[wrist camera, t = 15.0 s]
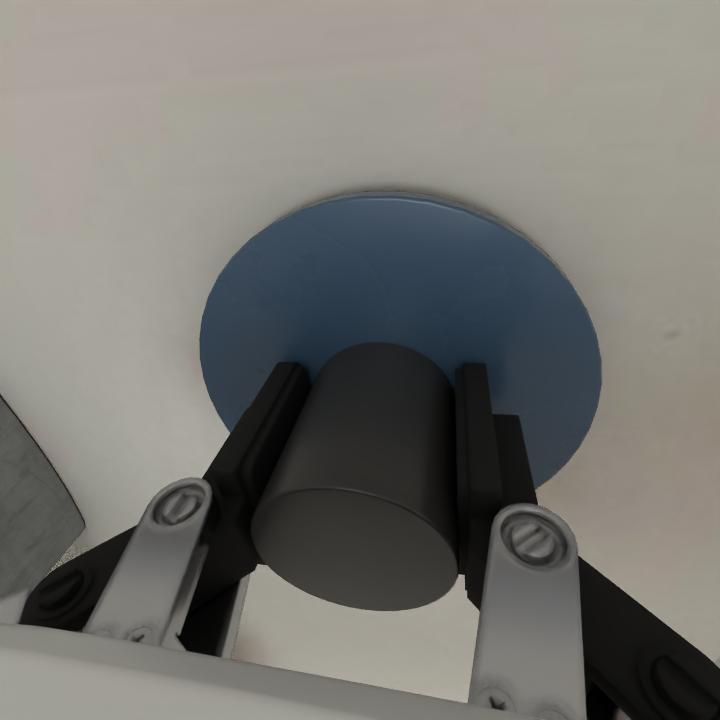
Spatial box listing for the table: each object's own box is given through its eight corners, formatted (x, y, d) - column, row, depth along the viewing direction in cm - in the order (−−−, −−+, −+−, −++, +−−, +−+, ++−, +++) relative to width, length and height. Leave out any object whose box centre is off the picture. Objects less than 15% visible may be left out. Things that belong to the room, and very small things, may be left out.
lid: (637, 161, 8) (900, 261, 3) (555, 506, 14) (609, 717, 9) (164, 203, 10) (-72, 297, 6) (265, 483, 16) (191, 643, 12)
